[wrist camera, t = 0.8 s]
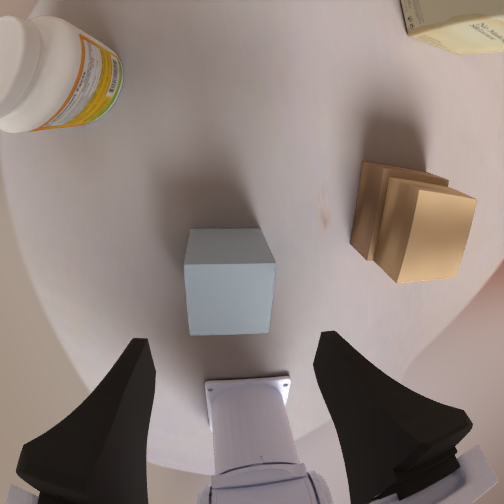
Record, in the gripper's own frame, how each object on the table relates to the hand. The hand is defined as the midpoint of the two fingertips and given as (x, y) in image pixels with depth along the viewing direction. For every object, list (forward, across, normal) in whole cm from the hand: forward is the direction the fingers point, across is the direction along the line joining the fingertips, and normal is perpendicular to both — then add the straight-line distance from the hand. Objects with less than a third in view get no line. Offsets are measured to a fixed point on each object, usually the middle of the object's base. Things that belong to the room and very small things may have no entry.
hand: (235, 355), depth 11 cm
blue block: (+9, 0, 0) cm, 9 cm away
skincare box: (+9, -15, -20) cm, 27 cm away
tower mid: (+6, -12, -4) cm, 14 cm away
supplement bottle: (+9, +9, -12) cm, 17 cm away
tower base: (+9, -12, -4) cm, 16 cm away
